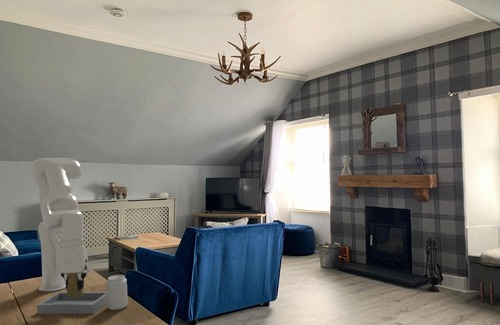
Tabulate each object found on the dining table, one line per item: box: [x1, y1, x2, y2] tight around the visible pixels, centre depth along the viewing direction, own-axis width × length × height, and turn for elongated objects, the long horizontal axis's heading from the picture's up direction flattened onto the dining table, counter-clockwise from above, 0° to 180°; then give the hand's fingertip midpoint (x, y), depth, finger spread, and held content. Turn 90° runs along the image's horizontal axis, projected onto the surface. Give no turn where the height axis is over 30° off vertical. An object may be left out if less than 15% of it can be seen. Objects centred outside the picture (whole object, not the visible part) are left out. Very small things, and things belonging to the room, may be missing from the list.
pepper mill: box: [66, 273, 84, 298], centre depth 150 cm, size 6×6×11 cm
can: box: [105, 274, 128, 311], centre depth 148 cm, size 8×8×12 cm
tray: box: [37, 291, 107, 315], centre depth 150 cm, size 22×14×4 cm, turn 85°
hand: (74, 289), depth 150 cm, fingers closed on pepper mill, 4 cm apart
